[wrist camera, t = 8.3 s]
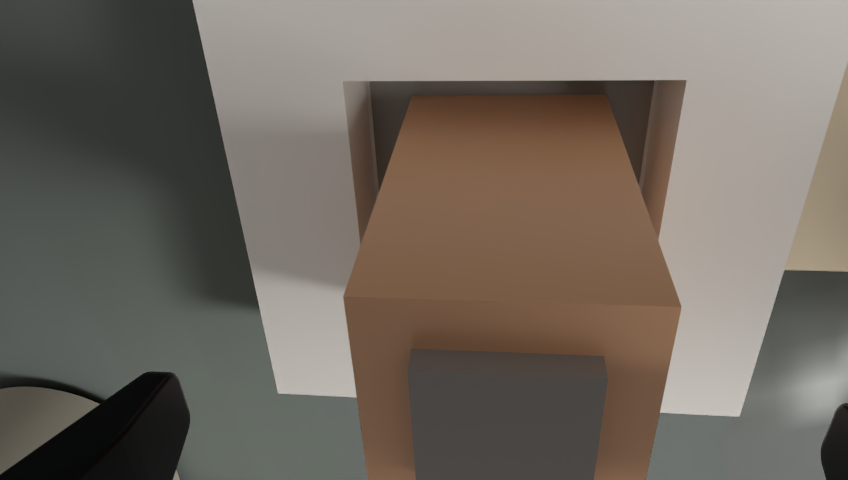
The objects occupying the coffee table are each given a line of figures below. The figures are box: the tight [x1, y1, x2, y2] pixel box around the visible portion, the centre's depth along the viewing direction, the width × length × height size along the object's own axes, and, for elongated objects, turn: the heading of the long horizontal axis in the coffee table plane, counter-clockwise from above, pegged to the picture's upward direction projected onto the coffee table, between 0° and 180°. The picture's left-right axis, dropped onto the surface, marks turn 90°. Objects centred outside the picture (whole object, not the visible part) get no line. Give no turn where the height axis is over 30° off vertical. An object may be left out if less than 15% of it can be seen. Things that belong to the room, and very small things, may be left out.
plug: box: [343, 94, 682, 480], centre depth 12 cm, size 4×4×7 cm
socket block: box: [192, 0, 848, 417], centre depth 14 cm, size 11×10×4 cm
